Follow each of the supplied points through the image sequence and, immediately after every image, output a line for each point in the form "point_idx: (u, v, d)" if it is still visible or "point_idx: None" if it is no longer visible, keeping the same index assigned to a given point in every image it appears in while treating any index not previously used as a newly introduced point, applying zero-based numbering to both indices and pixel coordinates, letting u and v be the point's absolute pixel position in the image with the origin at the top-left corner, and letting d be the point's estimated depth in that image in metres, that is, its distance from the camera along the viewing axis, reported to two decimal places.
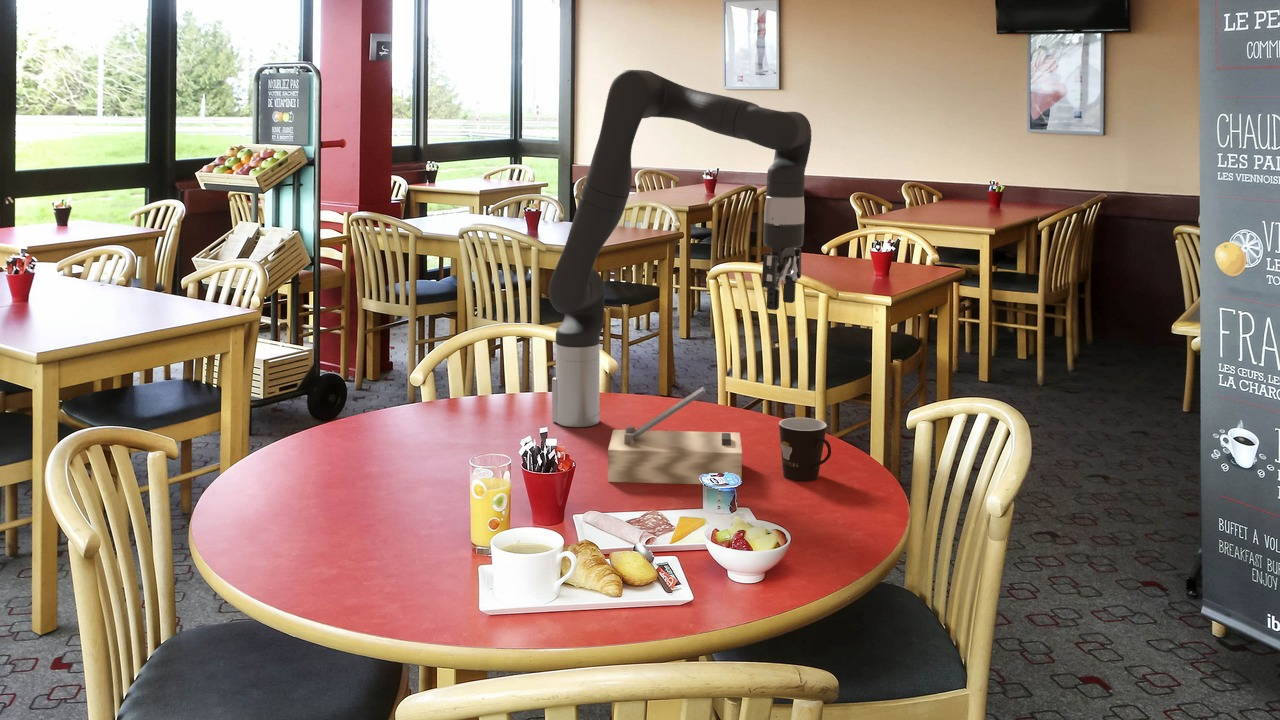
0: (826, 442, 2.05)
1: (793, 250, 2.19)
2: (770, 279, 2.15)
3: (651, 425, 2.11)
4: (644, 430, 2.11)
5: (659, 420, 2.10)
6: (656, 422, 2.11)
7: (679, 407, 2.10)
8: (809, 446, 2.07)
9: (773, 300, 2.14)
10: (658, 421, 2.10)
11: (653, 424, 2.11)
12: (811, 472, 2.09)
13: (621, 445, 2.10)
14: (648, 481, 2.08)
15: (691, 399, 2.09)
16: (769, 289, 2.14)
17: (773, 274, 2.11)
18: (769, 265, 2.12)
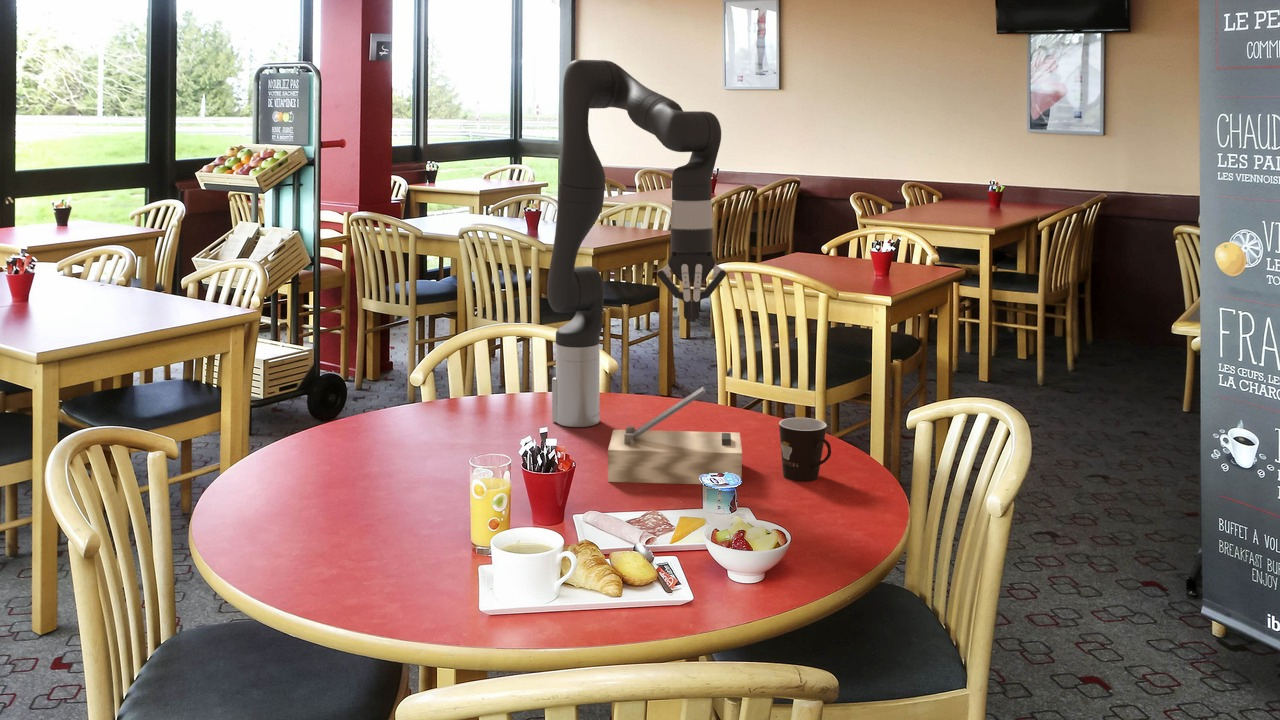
0: (826, 442, 2.05)
1: None
2: None
3: (651, 425, 2.11)
4: (644, 430, 2.11)
5: (659, 420, 2.10)
6: (656, 422, 2.11)
7: (679, 407, 2.10)
8: (809, 446, 2.07)
9: None
10: (658, 421, 2.10)
11: (653, 424, 2.11)
12: (811, 472, 2.09)
13: (621, 445, 2.10)
14: (648, 481, 2.08)
15: (691, 399, 2.09)
16: None
17: None
18: None
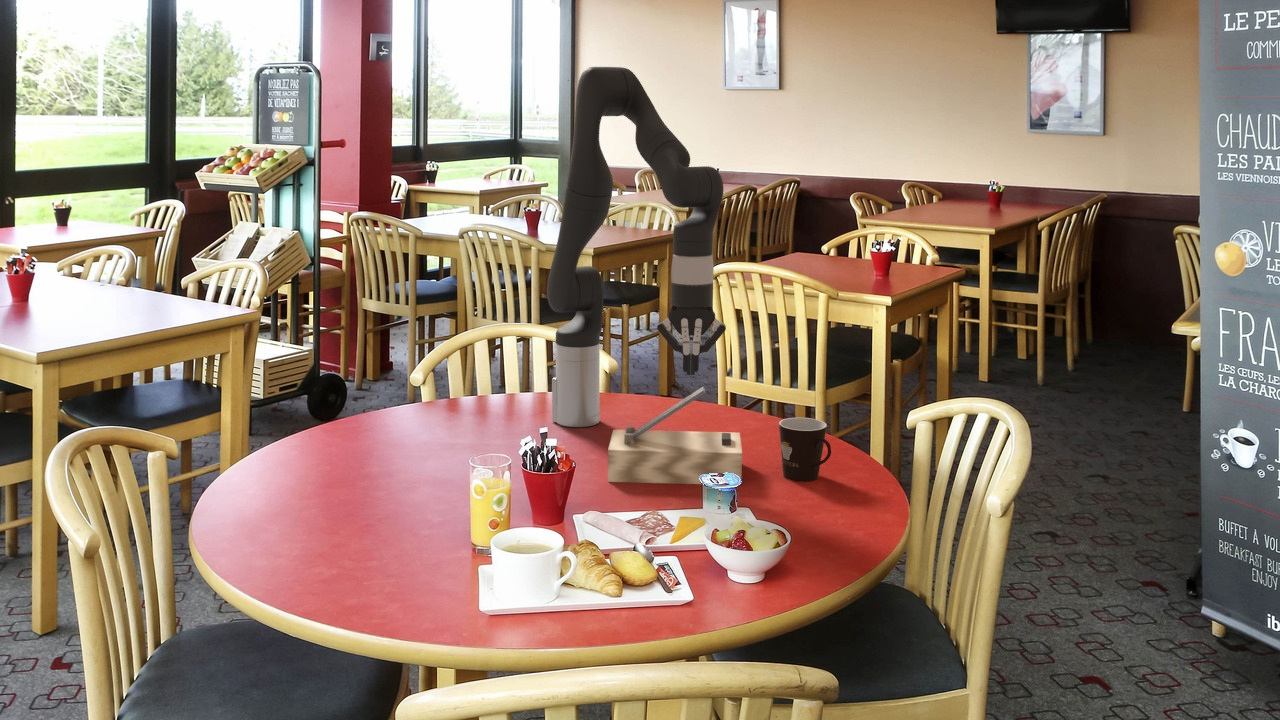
0: (826, 442, 2.05)
1: None
2: None
3: (651, 425, 2.11)
4: (644, 430, 2.11)
5: (659, 420, 2.10)
6: (656, 422, 2.11)
7: (679, 407, 2.10)
8: (809, 446, 2.07)
9: None
10: (658, 421, 2.10)
11: (653, 424, 2.11)
12: (811, 472, 2.09)
13: (621, 445, 2.10)
14: (648, 481, 2.08)
15: (691, 399, 2.09)
16: None
17: None
18: None
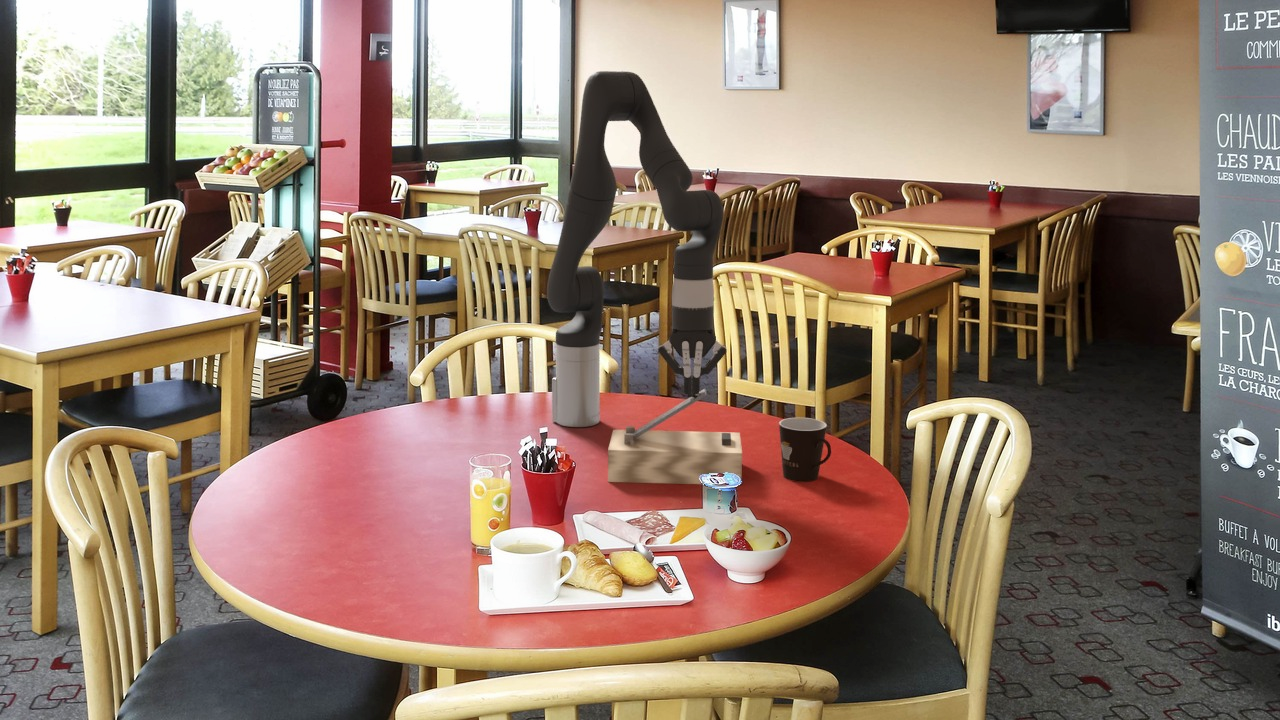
0: (826, 442, 2.05)
1: None
2: None
3: (651, 426, 2.11)
4: (644, 430, 2.11)
5: (660, 421, 2.10)
6: (657, 423, 2.11)
7: (680, 408, 2.10)
8: (809, 446, 2.07)
9: None
10: (659, 422, 2.10)
11: (654, 424, 2.11)
12: (811, 472, 2.09)
13: (621, 445, 2.10)
14: (648, 481, 2.08)
15: (692, 401, 2.09)
16: (701, 375, 2.09)
17: None
18: None
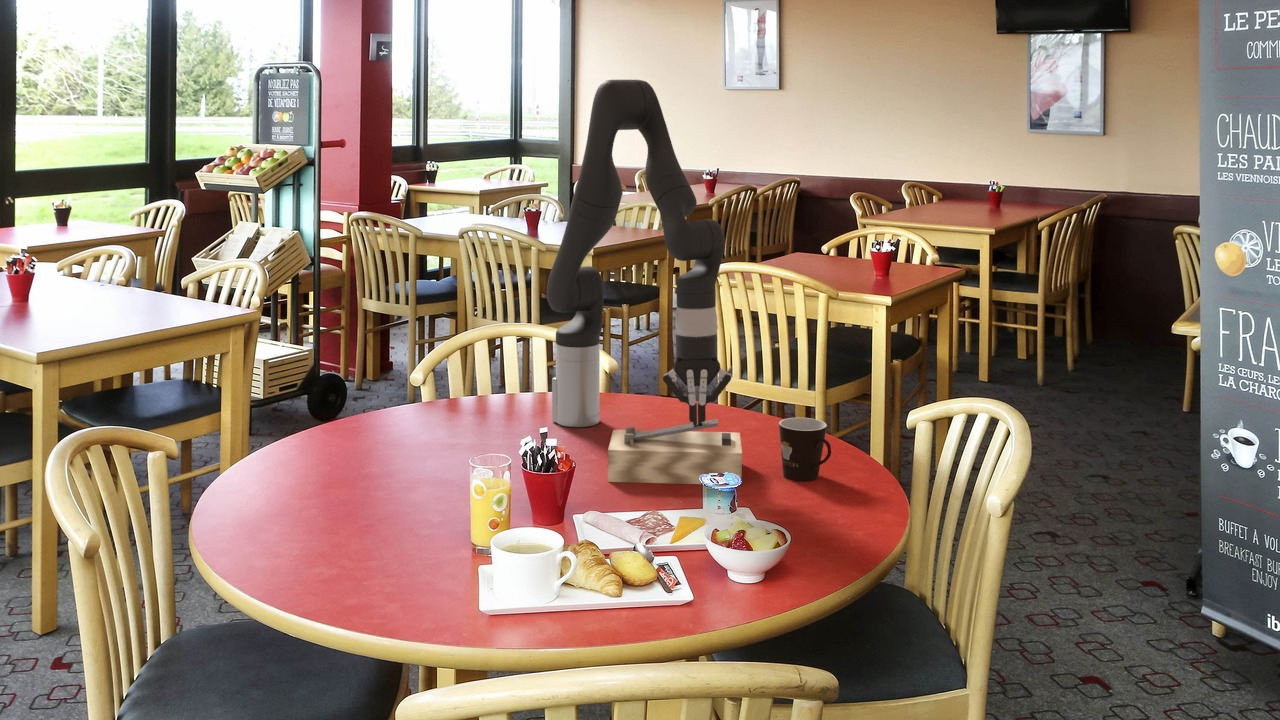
0: (826, 442, 2.05)
1: None
2: None
3: (655, 435, 2.11)
4: (647, 437, 2.11)
5: (665, 433, 2.11)
6: (661, 434, 2.11)
7: (688, 429, 2.10)
8: (809, 446, 2.07)
9: None
10: (663, 434, 2.11)
11: (658, 434, 2.11)
12: (811, 472, 2.09)
13: (621, 445, 2.10)
14: (648, 481, 2.08)
15: (703, 426, 2.10)
16: (706, 403, 2.10)
17: None
18: None
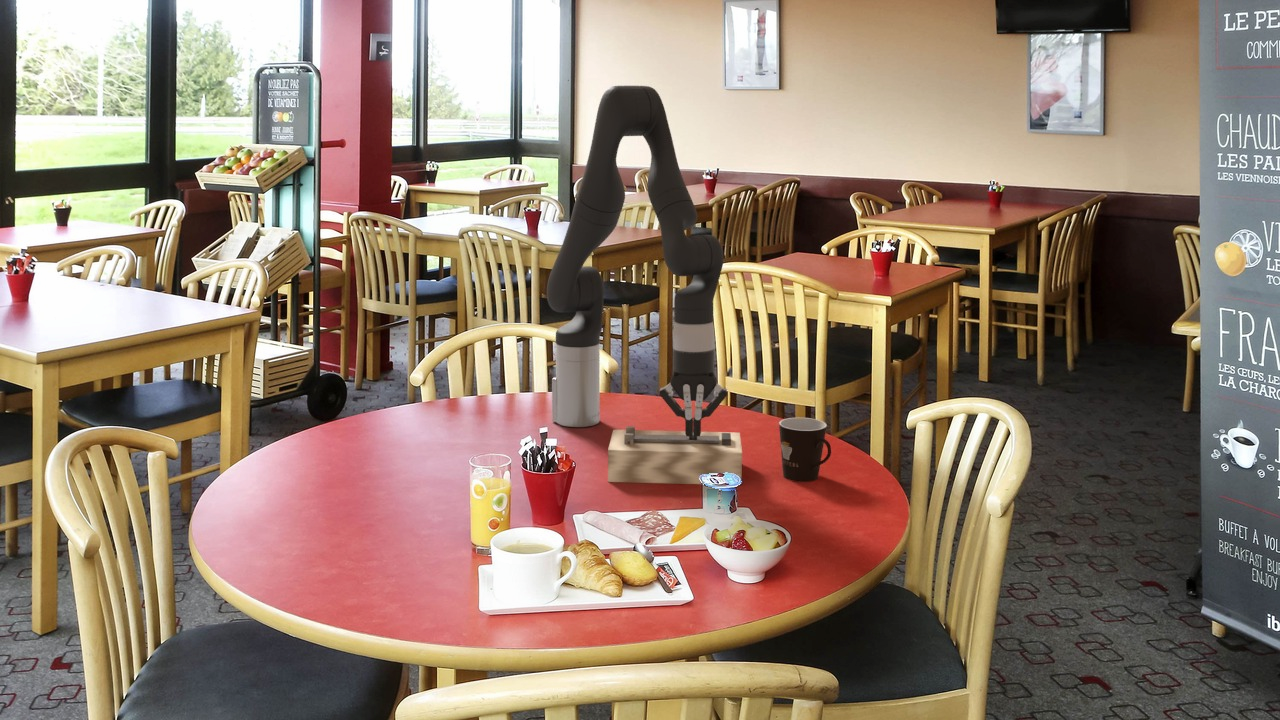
0: (826, 442, 2.05)
1: None
2: None
3: (656, 440, 2.11)
4: (647, 440, 2.11)
5: (665, 440, 2.11)
6: (662, 440, 2.11)
7: (690, 441, 2.11)
8: (809, 446, 2.07)
9: None
10: (664, 441, 2.11)
11: (658, 440, 2.11)
12: (811, 472, 2.09)
13: (621, 445, 2.10)
14: (648, 481, 2.08)
15: (704, 441, 2.11)
16: None
17: None
18: None
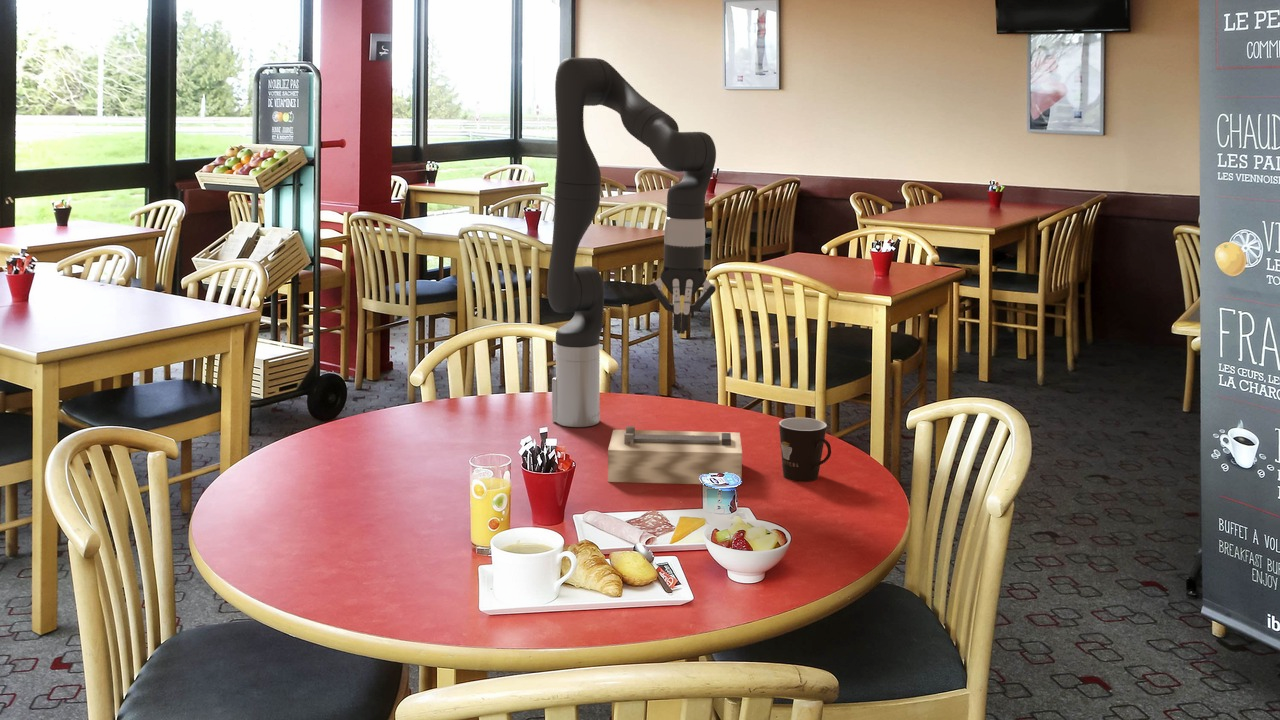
0: (826, 442, 2.05)
1: None
2: None
3: (656, 440, 2.11)
4: (647, 440, 2.11)
5: (665, 440, 2.11)
6: (662, 440, 2.11)
7: (690, 441, 2.11)
8: (809, 446, 2.07)
9: None
10: (664, 441, 2.11)
11: (658, 440, 2.11)
12: (811, 472, 2.09)
13: (621, 445, 2.10)
14: (648, 481, 2.08)
15: (704, 441, 2.11)
16: None
17: None
18: None
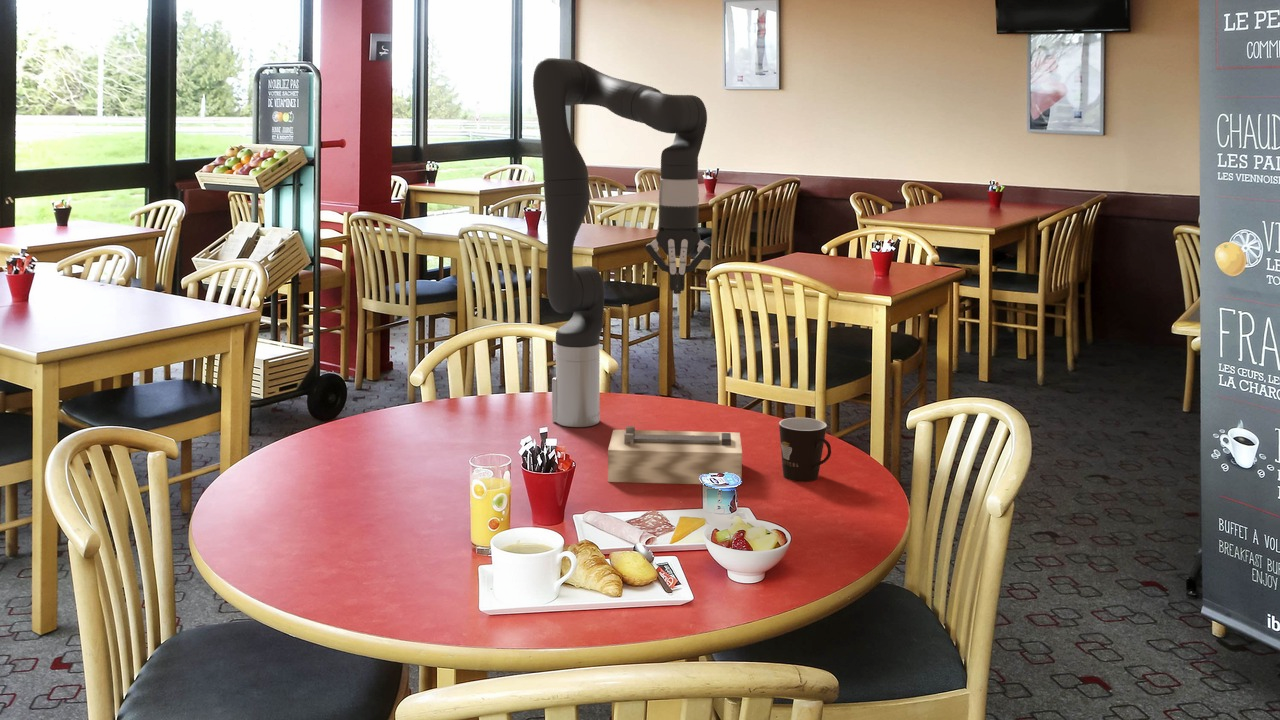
0: (826, 442, 2.05)
1: None
2: None
3: (656, 440, 2.11)
4: (647, 440, 2.11)
5: (665, 440, 2.11)
6: (662, 440, 2.11)
7: (690, 441, 2.11)
8: (809, 446, 2.07)
9: None
10: (664, 441, 2.11)
11: (658, 440, 2.11)
12: (811, 472, 2.09)
13: (621, 445, 2.10)
14: (648, 481, 2.08)
15: (704, 441, 2.11)
16: None
17: None
18: None
